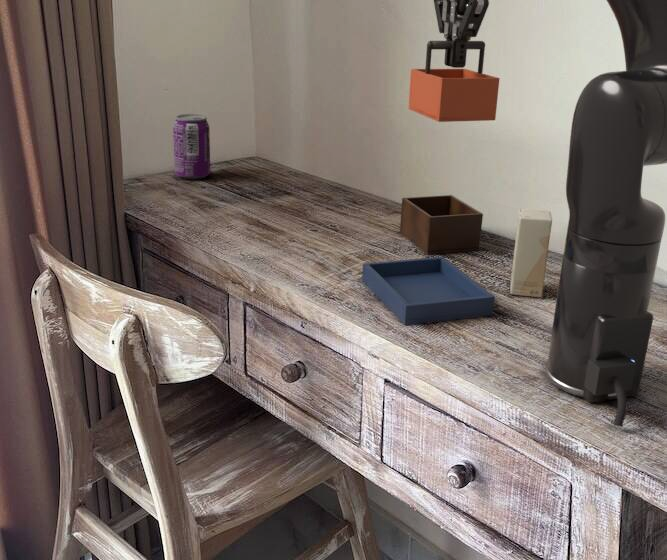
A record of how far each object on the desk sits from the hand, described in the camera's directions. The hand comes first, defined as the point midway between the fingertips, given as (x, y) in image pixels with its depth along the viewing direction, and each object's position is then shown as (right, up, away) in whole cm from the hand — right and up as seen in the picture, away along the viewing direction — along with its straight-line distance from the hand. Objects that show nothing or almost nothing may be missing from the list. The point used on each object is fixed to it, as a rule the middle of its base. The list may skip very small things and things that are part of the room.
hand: (454, 66), depth 119 cm
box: (+9, -33, -5) cm, 34 cm away
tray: (-5, -34, -9) cm, 35 cm away
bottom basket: (-1, -25, +13) cm, 28 cm away
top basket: (0, -7, +3) cm, 7 cm away
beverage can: (-46, -10, +46) cm, 66 cm away
